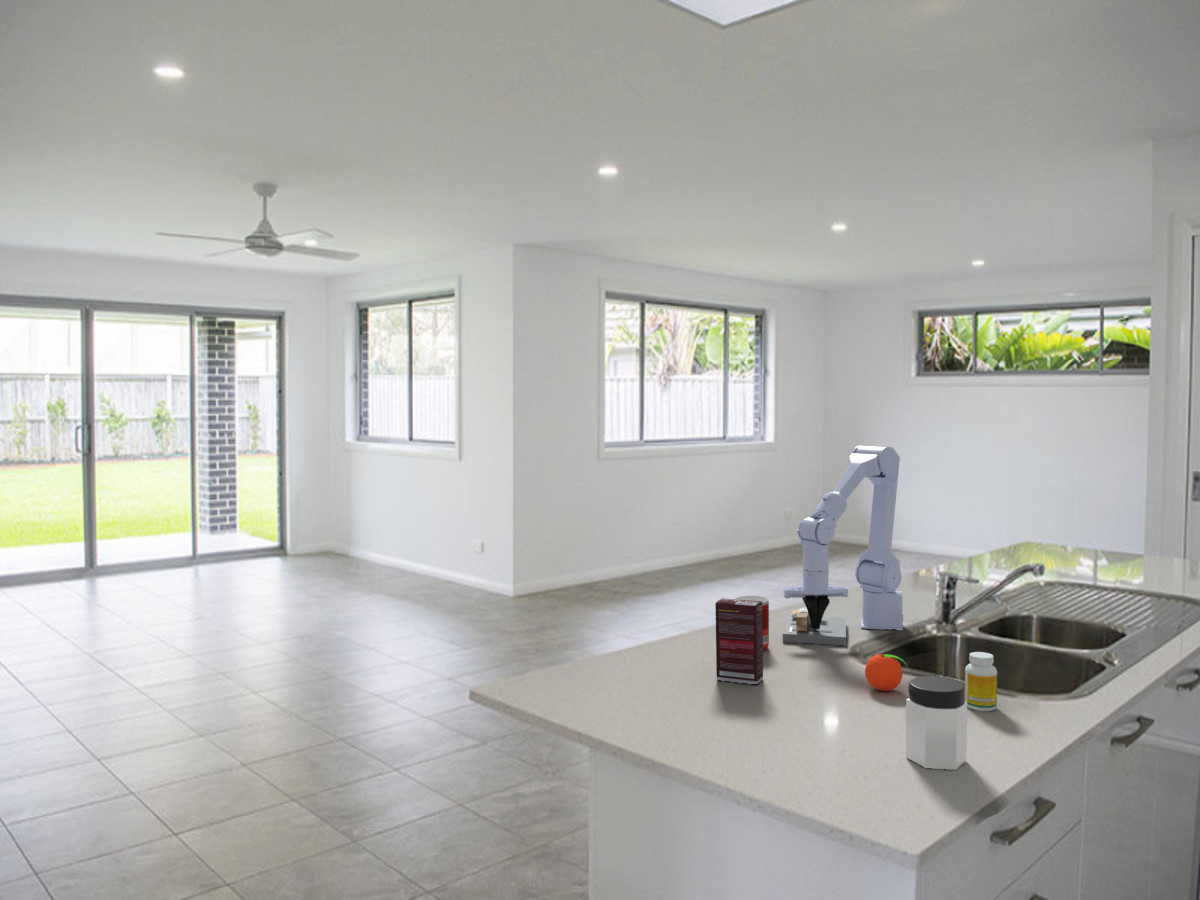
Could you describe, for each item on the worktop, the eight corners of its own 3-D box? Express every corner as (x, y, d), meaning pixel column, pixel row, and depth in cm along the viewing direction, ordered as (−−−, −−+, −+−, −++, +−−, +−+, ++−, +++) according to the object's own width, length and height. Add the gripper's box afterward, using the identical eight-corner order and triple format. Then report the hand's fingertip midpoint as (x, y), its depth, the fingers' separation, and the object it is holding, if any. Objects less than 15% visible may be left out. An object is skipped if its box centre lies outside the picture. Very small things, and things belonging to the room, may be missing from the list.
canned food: (767, 643, 209) (767, 595, 208) (770, 653, 201) (770, 603, 201) (733, 642, 210) (733, 595, 209) (735, 652, 202) (735, 603, 201)
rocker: (824, 604, 224) (823, 600, 224) (824, 608, 220) (822, 604, 220) (793, 615, 226) (791, 611, 226) (792, 618, 222) (791, 614, 222)
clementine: (907, 686, 177) (907, 650, 177) (909, 697, 171) (909, 660, 170) (864, 683, 180) (864, 647, 179) (864, 694, 173) (865, 657, 172)
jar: (920, 744, 148) (921, 671, 147) (972, 757, 143) (973, 681, 142) (898, 762, 141) (899, 685, 140) (952, 775, 136) (953, 696, 135)
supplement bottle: (959, 702, 168) (960, 650, 167) (989, 701, 168) (989, 650, 167) (971, 712, 162) (972, 659, 162) (1002, 711, 162) (1002, 658, 162)
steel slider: (814, 621, 219) (814, 608, 219) (813, 625, 215) (813, 612, 215) (804, 620, 220) (804, 607, 219) (803, 625, 215) (803, 611, 215)
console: (846, 625, 224) (846, 612, 224) (846, 645, 206) (846, 631, 206) (787, 622, 228) (787, 609, 228) (782, 642, 210) (782, 628, 209)
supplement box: (763, 679, 183) (763, 600, 182) (757, 686, 178) (757, 605, 177) (722, 674, 186) (721, 597, 185) (715, 681, 182) (714, 602, 181)
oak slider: (807, 626, 214) (807, 613, 214) (806, 631, 210) (806, 617, 210) (797, 626, 215) (797, 612, 214) (796, 630, 210) (796, 617, 210)
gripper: (841, 565, 215) (840, 622, 216) (780, 567, 214) (780, 624, 215) (851, 571, 208) (850, 630, 209) (788, 573, 207) (788, 632, 208)
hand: (815, 628), depth 211 cm, fingers closed
